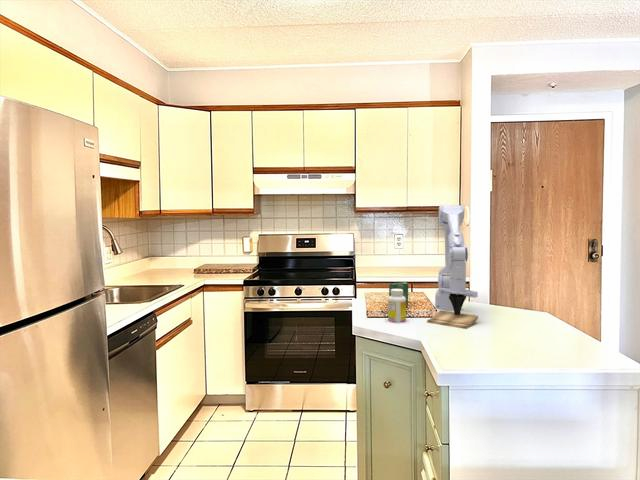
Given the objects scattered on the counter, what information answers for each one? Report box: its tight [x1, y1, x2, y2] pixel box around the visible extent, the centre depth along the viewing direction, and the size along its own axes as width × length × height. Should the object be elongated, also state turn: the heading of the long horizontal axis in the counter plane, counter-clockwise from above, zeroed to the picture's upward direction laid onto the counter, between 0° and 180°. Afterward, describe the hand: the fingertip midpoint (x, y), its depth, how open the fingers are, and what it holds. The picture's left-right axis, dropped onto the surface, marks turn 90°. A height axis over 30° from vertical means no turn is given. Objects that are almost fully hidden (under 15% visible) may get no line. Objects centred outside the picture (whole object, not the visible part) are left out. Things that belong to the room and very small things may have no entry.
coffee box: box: [388, 282, 409, 309], centre depth 195 cm, size 8×3×13 cm, turn 117°
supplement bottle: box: [387, 289, 407, 324], centre depth 182 cm, size 7×7×13 cm
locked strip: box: [426, 318, 470, 330], centre depth 175 cm, size 15×2×1 cm, turn 51°
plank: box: [430, 309, 479, 328], centre depth 179 cm, size 15×8×1 cm, turn 51°
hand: (457, 314), depth 181 cm, fingers closed, pressing on plank
